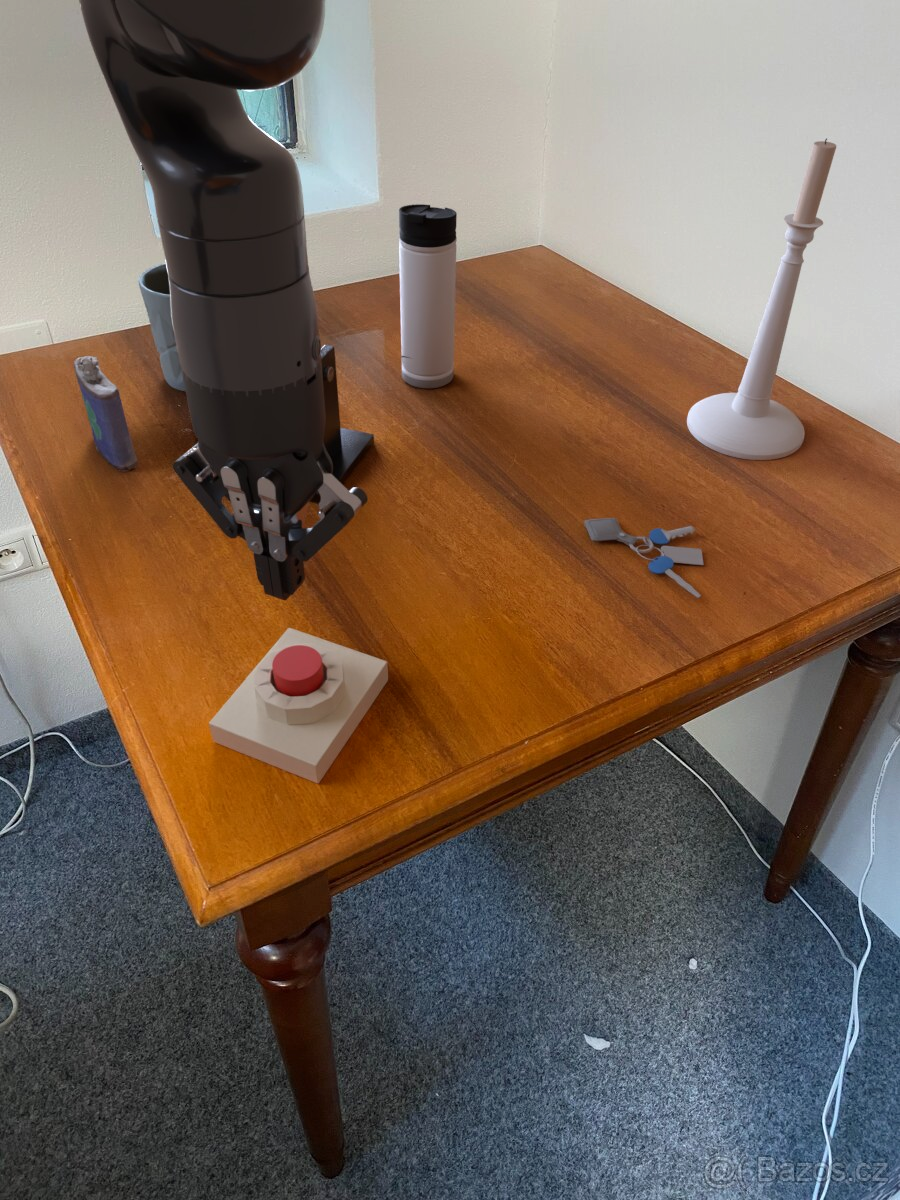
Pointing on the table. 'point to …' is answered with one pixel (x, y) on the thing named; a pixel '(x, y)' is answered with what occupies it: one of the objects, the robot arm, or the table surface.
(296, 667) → the button
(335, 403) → the bracket
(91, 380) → the blue squeeze pouch
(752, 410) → the candlestick
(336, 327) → the table surface
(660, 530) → the key chain
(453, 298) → the travel mug
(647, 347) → the table surface
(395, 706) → the table surface
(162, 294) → the grey hollow tapered cylinder
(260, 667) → the button box
